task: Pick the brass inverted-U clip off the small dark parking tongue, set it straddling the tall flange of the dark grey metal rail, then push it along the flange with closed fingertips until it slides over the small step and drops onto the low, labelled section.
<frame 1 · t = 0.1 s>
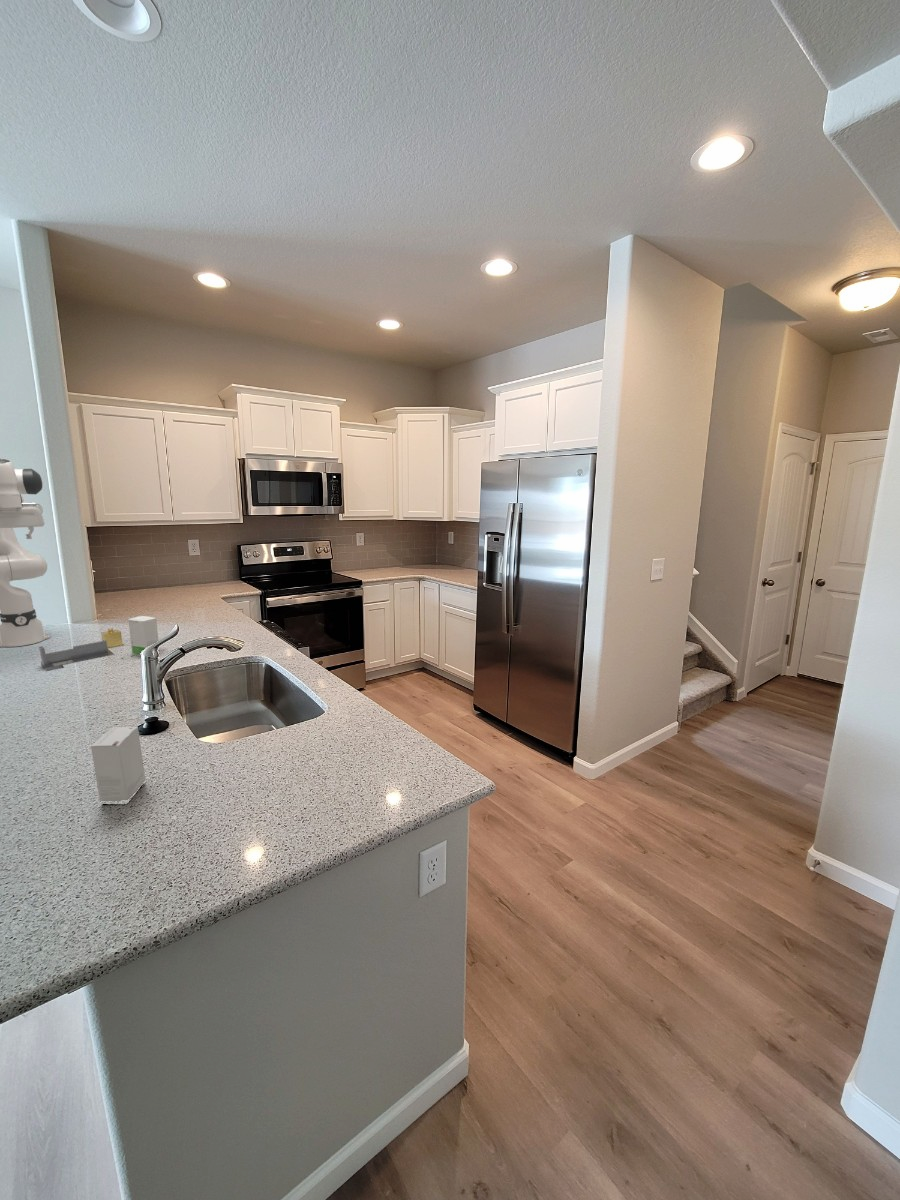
hand: (13, 539, 187), 48 cm above the worktop, fingers open, 8 cm apart
rail: (78, 660, 195), on the worktop
skincare box 2: (124, 795, 110), on the worktop
clip: (113, 645, 211), point 1 cm above the worktop, touching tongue
skincare box: (146, 654, 203), on the worktop
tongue: (113, 647, 211), on the worktop
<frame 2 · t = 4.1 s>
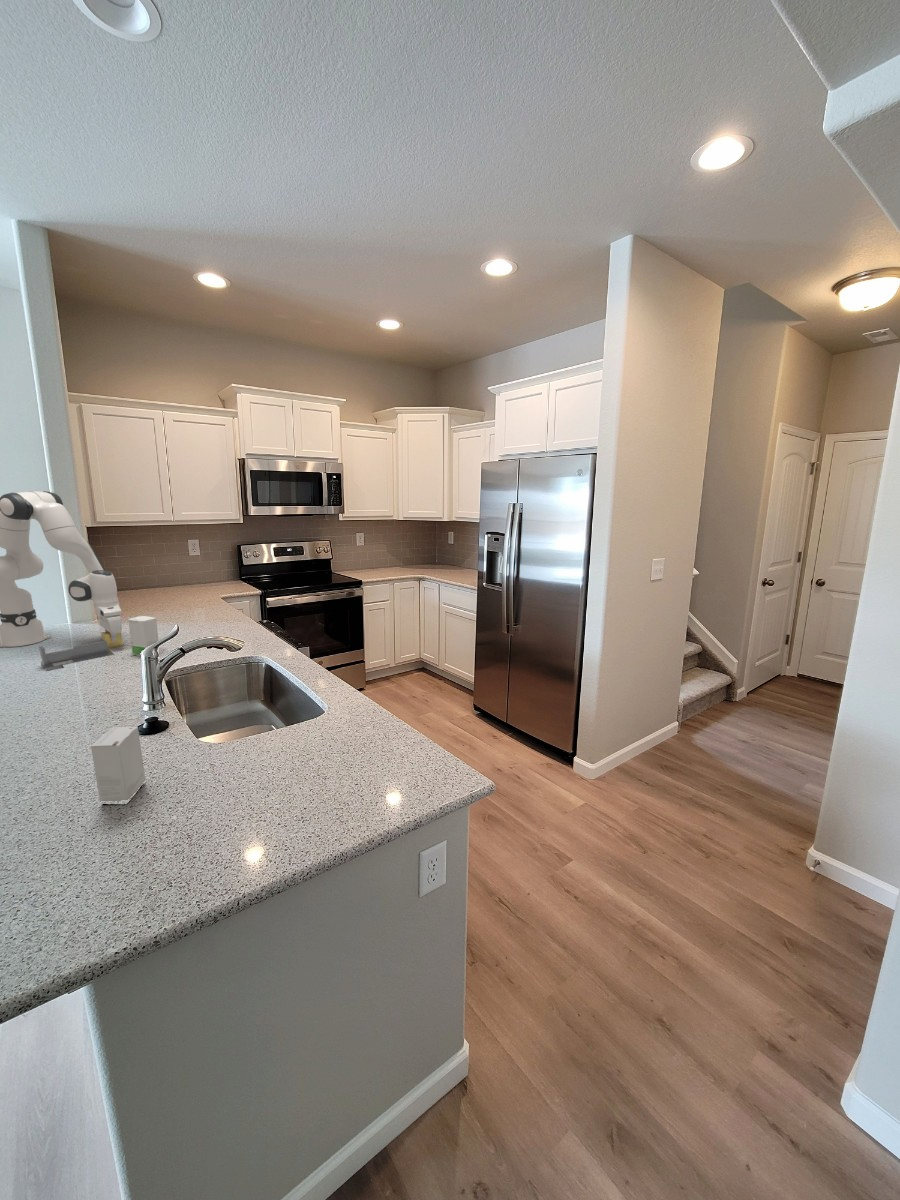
hand: (112, 639, 210), 4 cm above the worktop, fingers closed on clip, 5 cm apart
clip: (113, 645, 211), point 1 cm above the worktop, touching gripper, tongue
everything else where it was.
when the fingers open (7 cm above the worktop, at t = 9.1 s): clip stays where it is, resting on rail.
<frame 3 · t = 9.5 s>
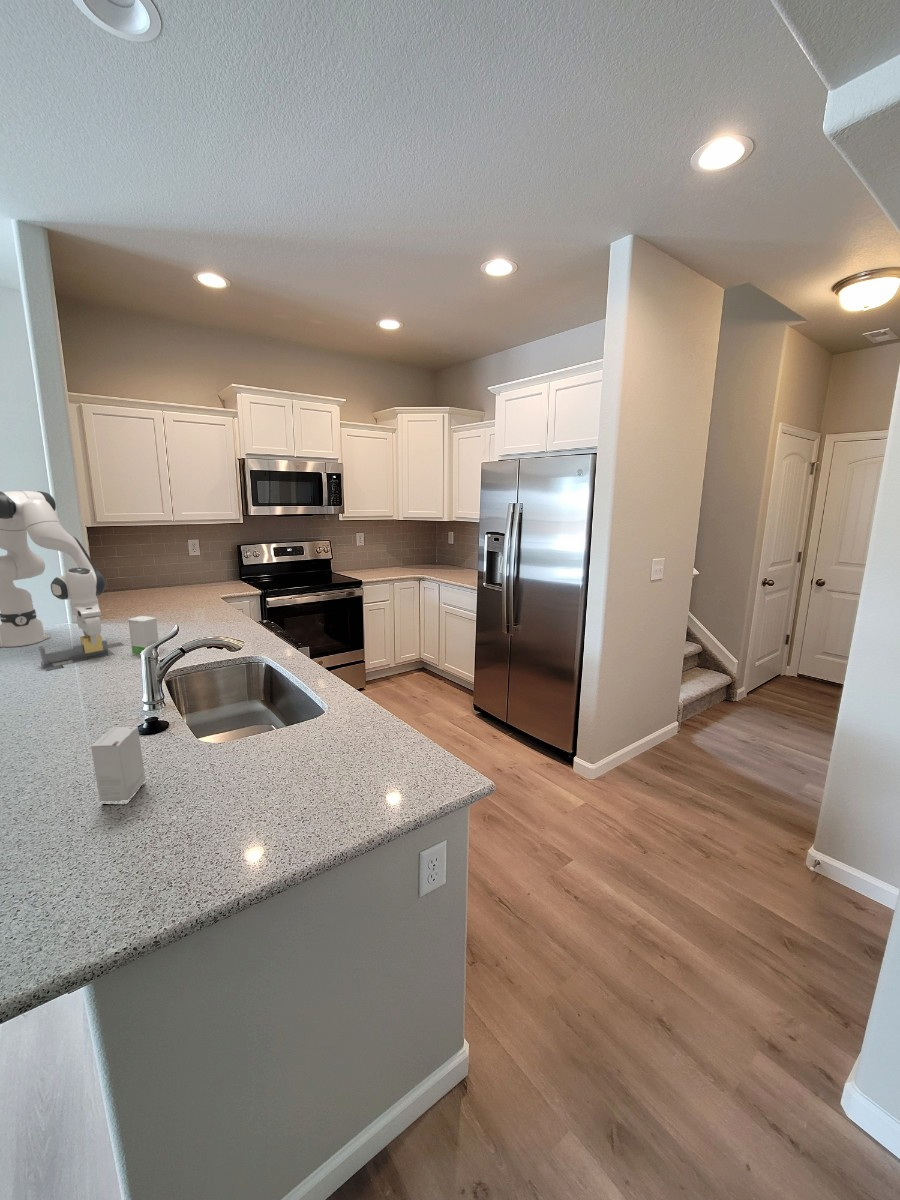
hand: (91, 642, 197), 7 cm above the worktop, fingers open, 8 cm apart
clip: (92, 650, 198), point 3 cm above the worktop, touching rail
everything else where it was.
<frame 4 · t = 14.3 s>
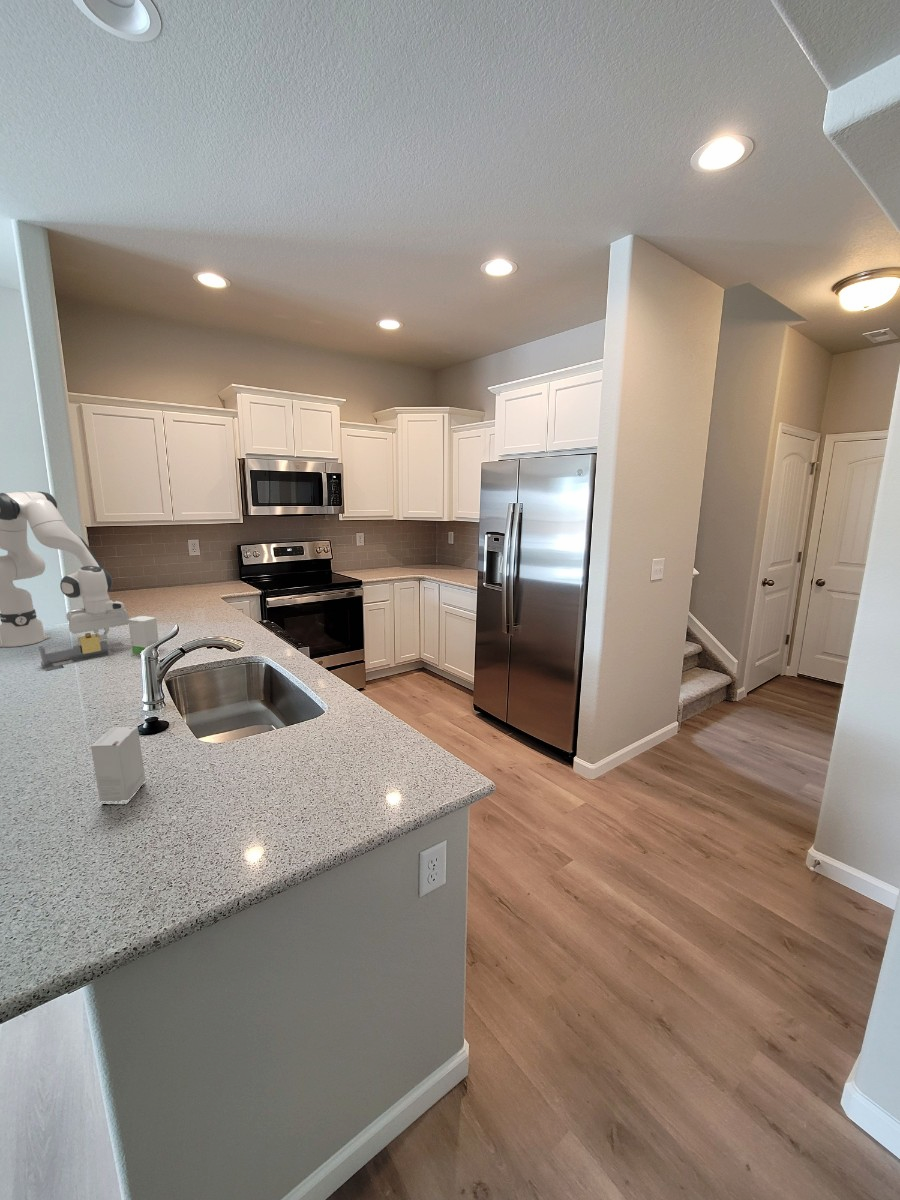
hand: (102, 639, 200), 7 cm above the worktop, fingers closed
clip: (90, 650, 198), point 3 cm above the worktop, touching gripper, rail
everything else where it was.
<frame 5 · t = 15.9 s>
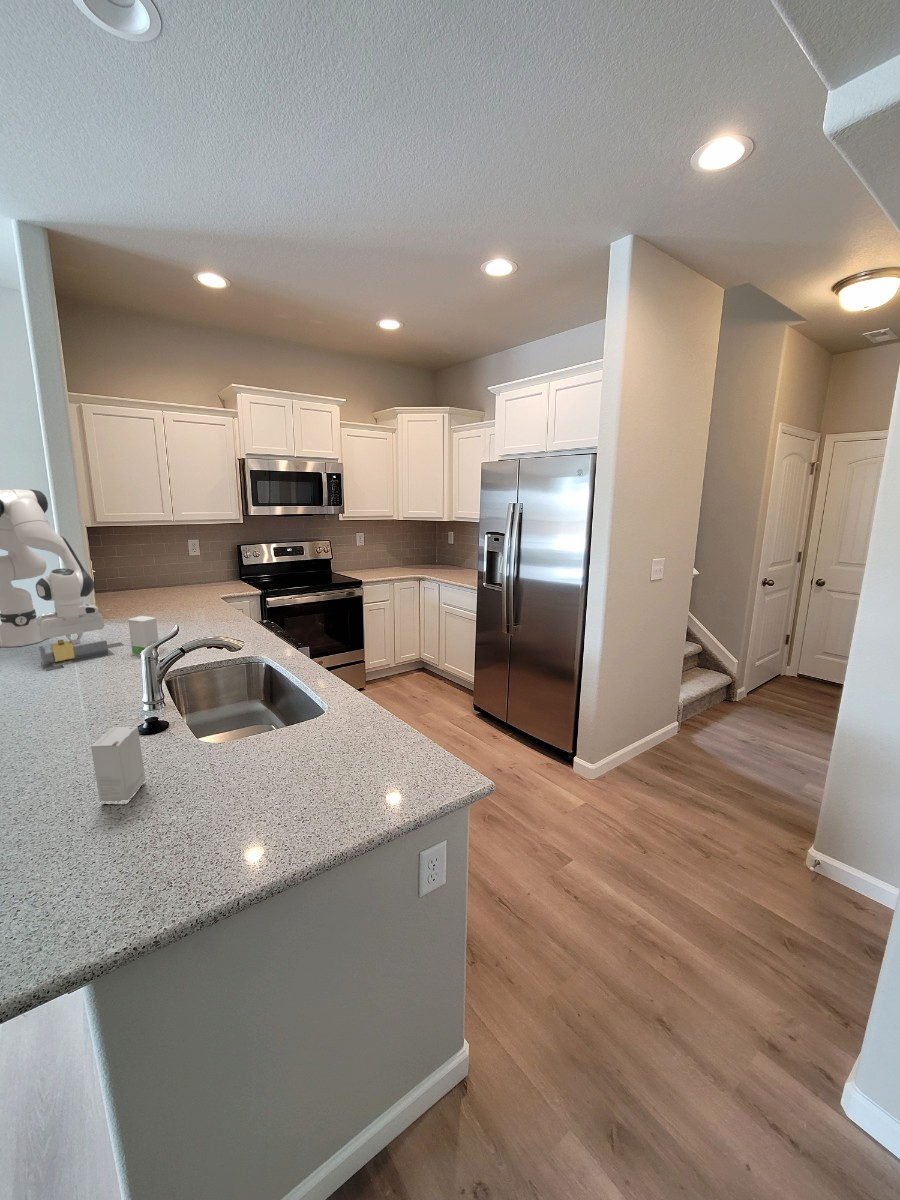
hand: (75, 644, 194), 7 cm above the worktop, fingers closed
clip: (63, 658, 191), point 2 cm above the worktop, touching gripper, rail
everything else where it was.
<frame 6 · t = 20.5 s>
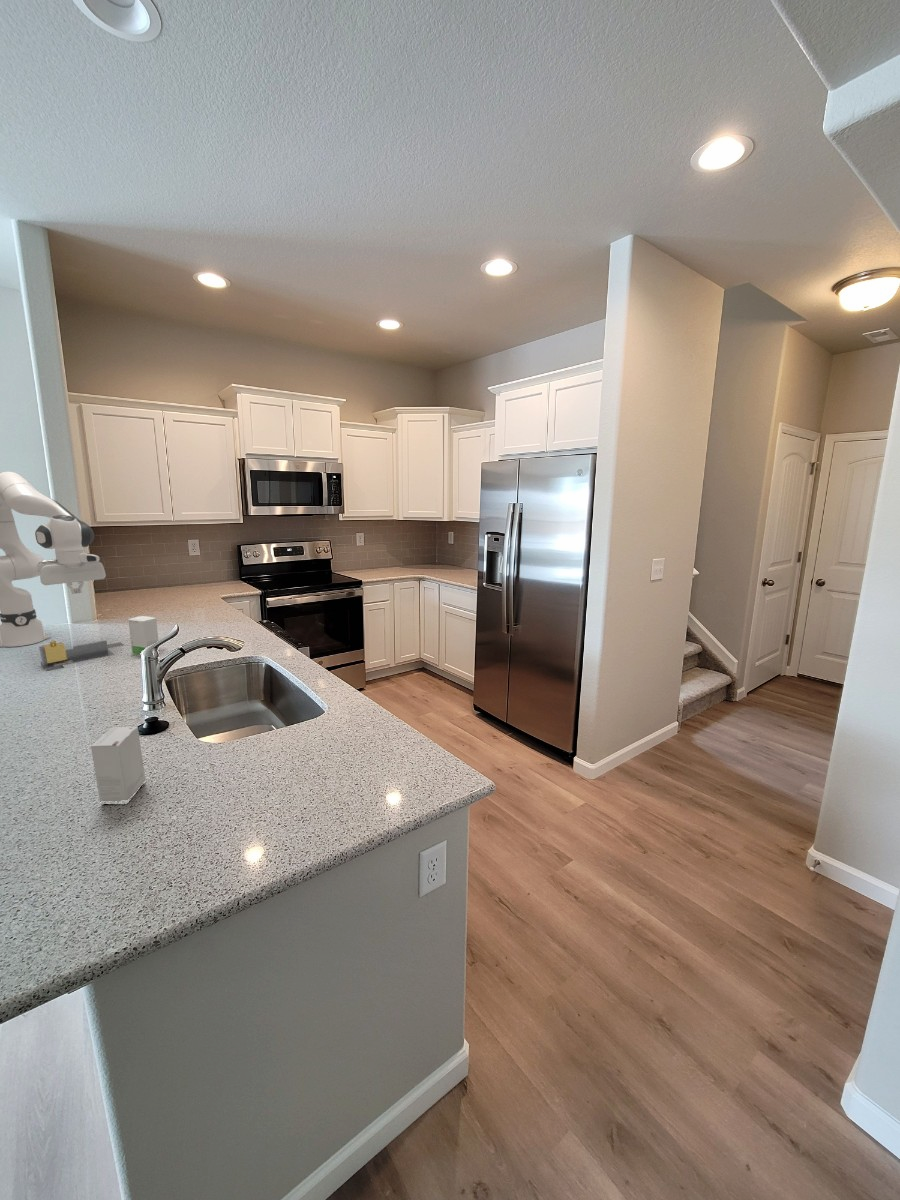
hand: (76, 593, 191), 27 cm above the worktop, fingers closed
clip: (56, 659, 189), point 2 cm above the worktop, touching rail
everything else where it was.
at the end: clip 0.9 cm from the target spot on the rail, point 2.2 cm above the rail's base; clip tilted 0° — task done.
